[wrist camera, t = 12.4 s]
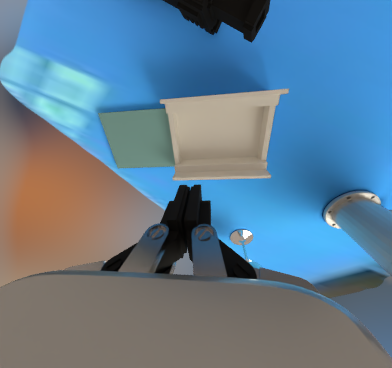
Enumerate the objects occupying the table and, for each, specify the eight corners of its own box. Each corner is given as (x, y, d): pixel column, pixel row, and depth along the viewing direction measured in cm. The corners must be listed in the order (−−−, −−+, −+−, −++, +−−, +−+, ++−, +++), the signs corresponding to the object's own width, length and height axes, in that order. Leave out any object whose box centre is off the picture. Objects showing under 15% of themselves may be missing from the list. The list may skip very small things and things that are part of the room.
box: (269, 92, 28) (289, 88, 21) (258, 163, 35) (270, 177, 29) (170, 100, 30) (159, 99, 23) (179, 166, 38) (173, 180, 31)
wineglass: (225, 234, 49) (234, 307, 31) (247, 225, 46) (270, 300, 29) (236, 247, 51) (250, 320, 34) (257, 240, 49) (283, 315, 31)
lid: (171, 107, 31) (169, 107, 30) (179, 163, 38) (177, 166, 36) (104, 112, 33) (98, 113, 31) (121, 165, 39) (117, 168, 38)
